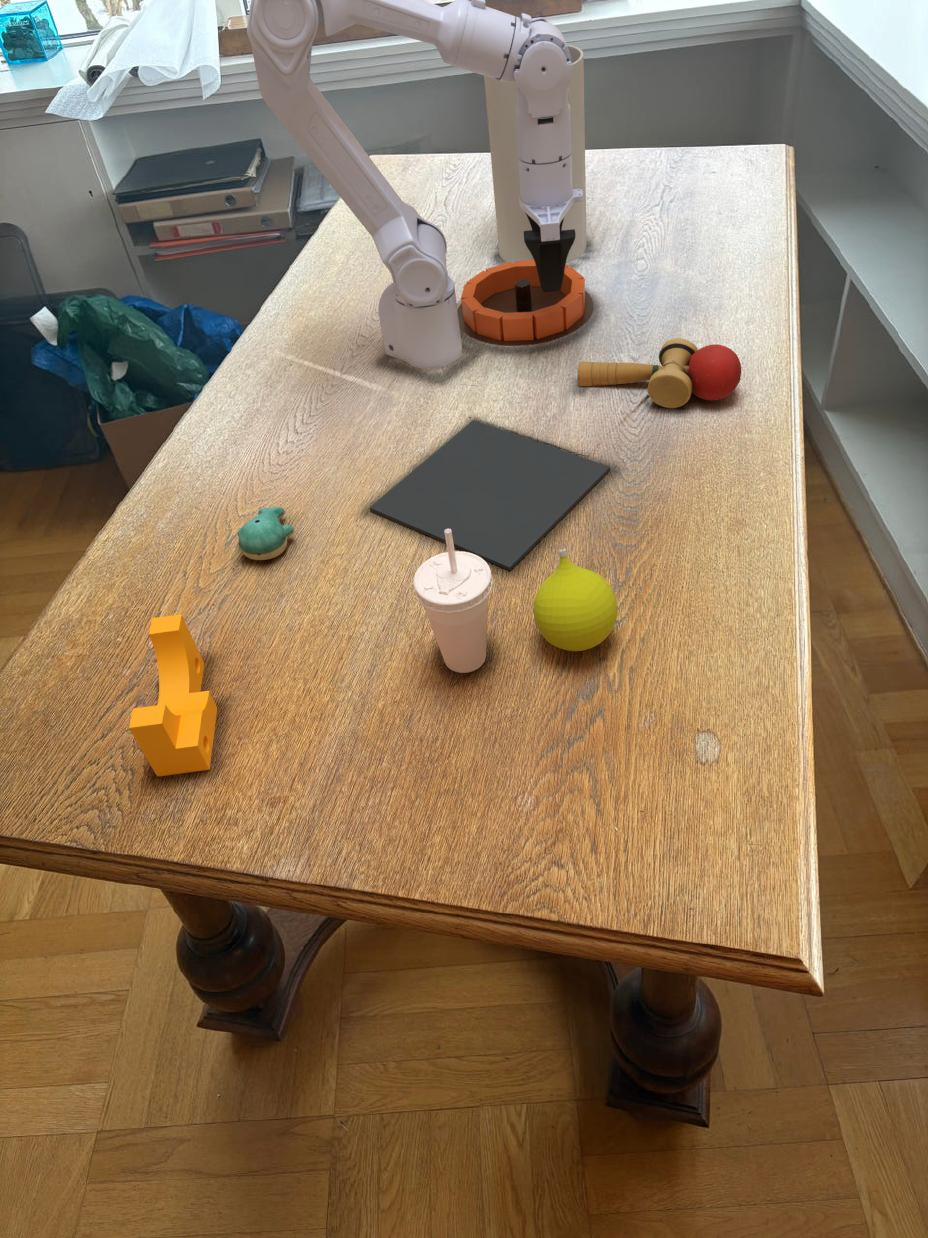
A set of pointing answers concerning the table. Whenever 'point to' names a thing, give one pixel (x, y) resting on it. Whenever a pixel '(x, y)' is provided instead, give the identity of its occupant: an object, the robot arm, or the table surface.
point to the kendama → (673, 373)
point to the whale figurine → (264, 535)
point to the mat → (491, 492)
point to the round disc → (525, 301)
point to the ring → (520, 322)
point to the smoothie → (456, 604)
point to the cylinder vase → (507, 164)
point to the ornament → (574, 607)
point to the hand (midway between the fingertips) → (550, 274)
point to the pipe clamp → (176, 704)
